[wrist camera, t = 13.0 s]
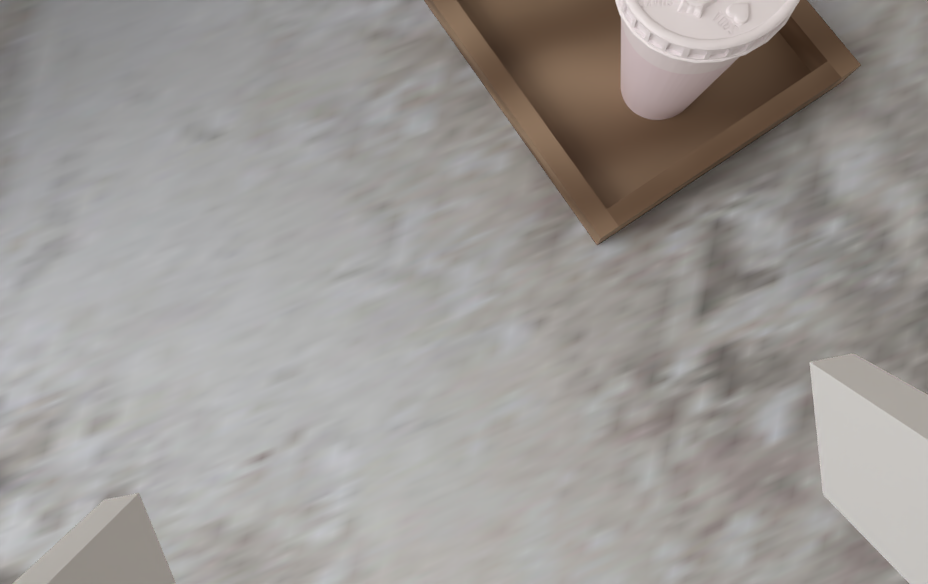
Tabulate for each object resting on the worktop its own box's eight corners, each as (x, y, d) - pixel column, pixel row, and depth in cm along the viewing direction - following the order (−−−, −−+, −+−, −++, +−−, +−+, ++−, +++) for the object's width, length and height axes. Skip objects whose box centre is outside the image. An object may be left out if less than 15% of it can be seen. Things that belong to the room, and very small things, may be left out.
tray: (389, -49, 32) (379, -74, 30) (602, -204, 31) (606, -240, 29) (597, 245, 29) (601, 238, 27) (839, 84, 28) (861, 65, 26)
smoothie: (746, 46, 28) (935, -232, 15) (696, 165, 28) (838, -1, 14) (622, 6, 29) (688, -289, 16) (573, 121, 29) (596, -74, 15)
